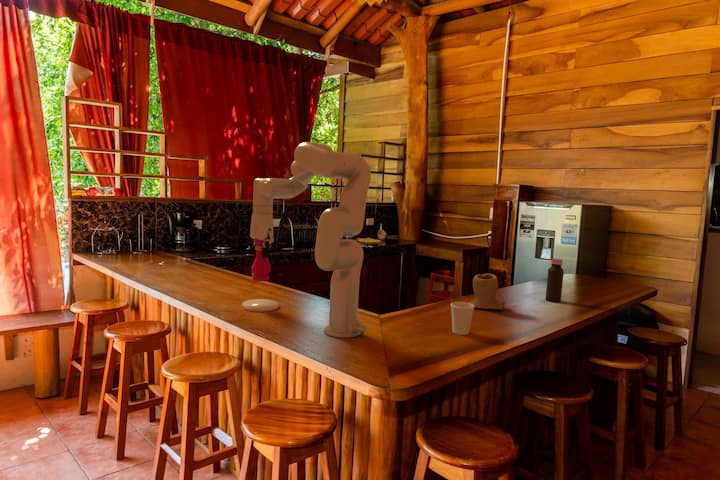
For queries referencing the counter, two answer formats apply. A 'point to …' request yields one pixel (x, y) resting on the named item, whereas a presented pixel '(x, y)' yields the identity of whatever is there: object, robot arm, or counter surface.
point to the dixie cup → (461, 317)
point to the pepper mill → (260, 263)
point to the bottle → (555, 281)
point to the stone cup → (486, 292)
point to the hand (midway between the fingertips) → (261, 256)
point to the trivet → (260, 305)
